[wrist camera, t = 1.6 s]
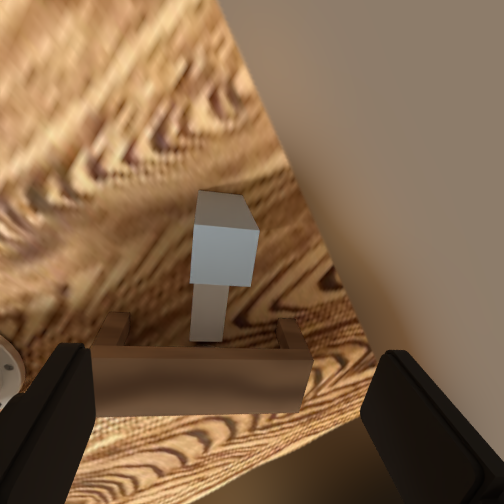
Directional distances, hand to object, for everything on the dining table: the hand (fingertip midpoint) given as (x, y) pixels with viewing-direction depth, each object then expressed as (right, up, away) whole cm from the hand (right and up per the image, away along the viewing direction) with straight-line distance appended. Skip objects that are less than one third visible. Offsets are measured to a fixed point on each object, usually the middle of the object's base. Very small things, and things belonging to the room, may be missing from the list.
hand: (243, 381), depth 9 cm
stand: (-5, -6, +24) cm, 25 cm away
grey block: (-4, +2, +20) cm, 21 cm away
